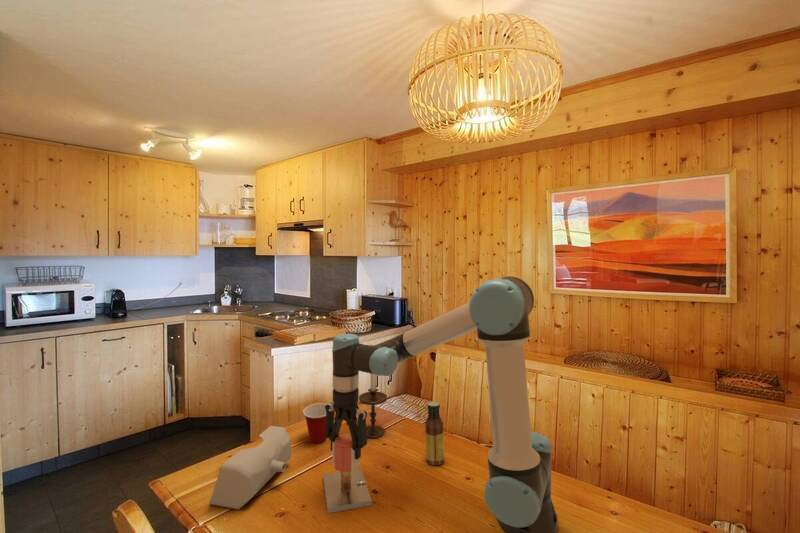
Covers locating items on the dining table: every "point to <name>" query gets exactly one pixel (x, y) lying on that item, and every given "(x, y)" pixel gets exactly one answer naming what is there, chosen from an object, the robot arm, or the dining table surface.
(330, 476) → the plate
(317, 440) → the plastic cup
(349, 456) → the wire nut
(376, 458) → the dining table surface
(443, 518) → the dining table surface
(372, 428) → the candlestick
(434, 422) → the sauce bottle
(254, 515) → the dining table surface
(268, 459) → the tank
